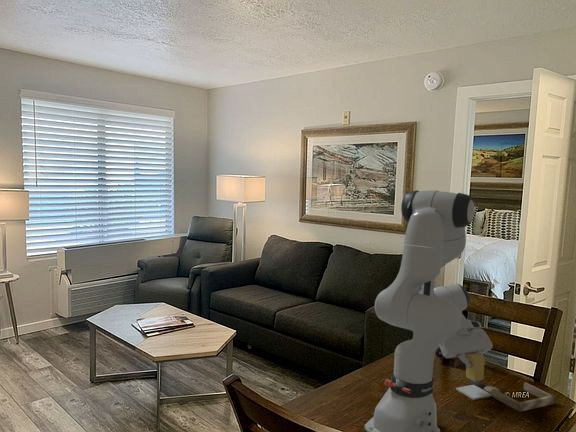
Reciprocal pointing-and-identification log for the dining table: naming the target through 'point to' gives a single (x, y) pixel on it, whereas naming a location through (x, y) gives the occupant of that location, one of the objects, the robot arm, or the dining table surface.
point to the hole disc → (477, 383)
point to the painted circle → (490, 389)
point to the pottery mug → (457, 361)
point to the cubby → (526, 405)
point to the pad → (473, 392)
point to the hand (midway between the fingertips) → (476, 366)
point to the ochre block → (475, 367)
